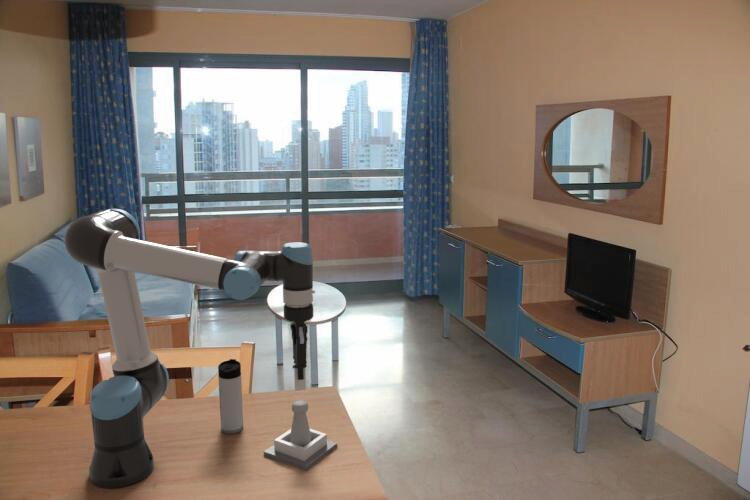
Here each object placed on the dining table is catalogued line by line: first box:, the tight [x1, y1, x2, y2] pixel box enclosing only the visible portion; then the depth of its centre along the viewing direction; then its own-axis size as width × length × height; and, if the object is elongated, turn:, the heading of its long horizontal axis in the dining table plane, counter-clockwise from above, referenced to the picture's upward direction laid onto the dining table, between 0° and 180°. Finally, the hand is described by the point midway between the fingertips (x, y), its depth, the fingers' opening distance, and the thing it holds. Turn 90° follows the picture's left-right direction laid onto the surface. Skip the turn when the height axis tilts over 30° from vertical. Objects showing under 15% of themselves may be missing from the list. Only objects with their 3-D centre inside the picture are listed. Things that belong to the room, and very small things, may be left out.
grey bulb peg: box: [290, 399, 311, 447], centre depth 171 cm, size 6×6×13 cm
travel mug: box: [217, 358, 244, 435], centre depth 182 cm, size 6×7×20 cm
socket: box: [263, 427, 338, 471], centre depth 172 cm, size 14×14×4 cm
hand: (300, 388), depth 168 cm, fingers closed
